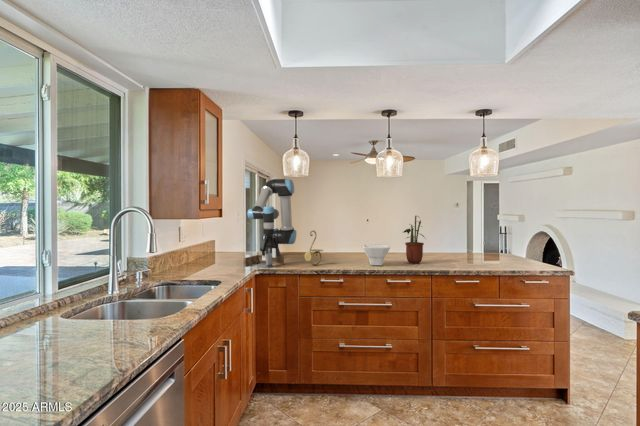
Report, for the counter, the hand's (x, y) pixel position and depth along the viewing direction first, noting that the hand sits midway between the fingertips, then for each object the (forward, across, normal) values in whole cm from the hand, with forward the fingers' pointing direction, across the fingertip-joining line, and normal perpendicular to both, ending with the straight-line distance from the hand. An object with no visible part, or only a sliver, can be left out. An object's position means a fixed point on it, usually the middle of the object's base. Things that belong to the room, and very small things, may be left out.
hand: (269, 258), depth 268 cm
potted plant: (+6, -51, +92) cm, 105 cm away
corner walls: (+6, -3, -6) cm, 9 cm away
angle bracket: (+5, 0, -4) cm, 6 cm away
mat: (+5, 0, -3) cm, 6 cm away
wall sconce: (+6, -18, +27) cm, 33 cm away
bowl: (+6, -33, +68) cm, 76 cm away
